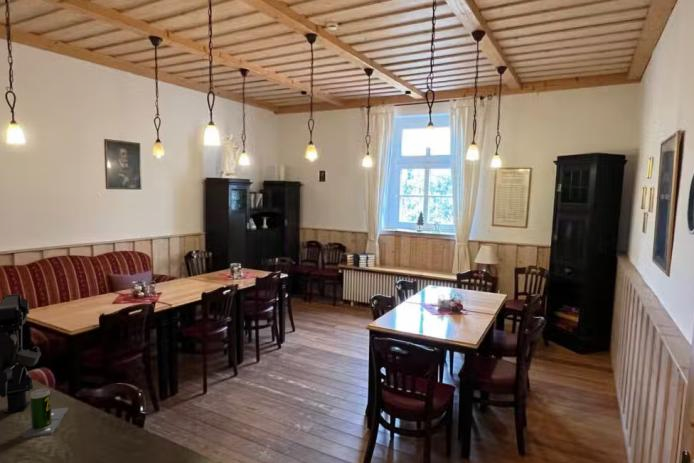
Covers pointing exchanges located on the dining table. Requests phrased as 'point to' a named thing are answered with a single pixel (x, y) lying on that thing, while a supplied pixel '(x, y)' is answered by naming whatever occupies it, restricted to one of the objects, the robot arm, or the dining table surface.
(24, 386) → the robot arm
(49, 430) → the three-dot tile
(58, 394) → the dining table surface
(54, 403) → the dining table surface
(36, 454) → the dining table surface
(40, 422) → the beer can
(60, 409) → the one-dot tile
